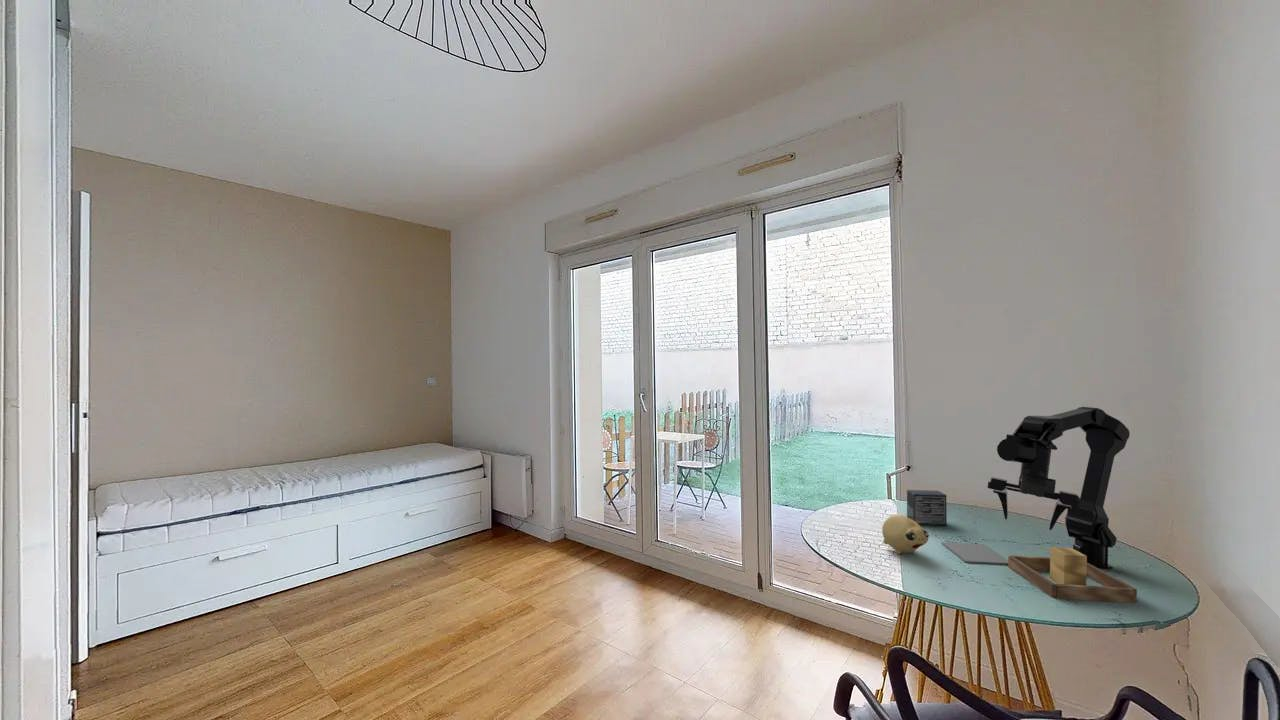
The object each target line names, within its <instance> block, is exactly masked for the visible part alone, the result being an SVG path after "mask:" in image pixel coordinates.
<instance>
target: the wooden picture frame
mask: <svg viewBox="0 0 1280 720" xmlns="http://www.w3.org/2000/svg"><path fill="white" fill-rule="evenodd" d="M1007 560H1008V565H1007V566H1008V568H1009V569H1010V570H1012V571H1013V572H1015V573H1016V574H1017V575H1019V576H1020V577H1022V578H1023V579H1025V580H1026V581H1028V582H1029V583H1030V584H1031V585H1033V586H1035V587H1036V588H1038V589H1039V590H1041V591H1042V592H1044V593H1045V594H1046V595H1048V596H1049V597H1051V598H1057V599H1061V600H1062V599H1063V600H1076V599H1077V601H1093V600H1095V602H1096V601H1098V602H1113V603H1114V602H1115V603H1129V604H1134V603H1137V601H1138V600H1137V597H1138V596H1137V595H1138V591H1137V590H1138V589H1137V588H1135V587H1134V586H1132V585H1131V584H1128V583H1126V582H1125V581H1122V580H1121V579H1119V578H1118V577H1115V576H1113V575H1111V574H1109V573H1108V572H1105V570H1102V569H1101V568H1097V567H1095V566H1093V565H1091V564H1089V563H1087V570H1086V577H1088V578H1090V579H1091V580H1093V581H1094V582H1096V583H1099V584H1100V585H1102V586H1100V585H1099V586H1098V585H1087V584H1086V585H1068V584H1058V583H1056V582H1054V581H1053V580H1052V581H1051V579H1048V578H1046V576H1044V575H1042V574H1041V573H1039V572H1038V571H1036V570H1041V571H1043V570H1044V571H1045V570H1046V571H1050V557H1049V556H1032V555H1012V554H1011V555H1008V557H1007ZM1078 599H1080V600H1078Z"/></svg>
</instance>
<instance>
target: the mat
mask: <svg viewBox="0 0 1280 720" xmlns="http://www.w3.org/2000/svg"><path fill="white" fill-rule="evenodd" d="M940 543H941V545H942V546H944V547H945V548H946V549H948V551H950V552H951V553H953V554H954V555H955V556H956V557H958V558H959V559H960V560H961V561H962V562H963V563H966V564H980V563H984V565H1000V564H1001V566H1002V565H1003V566H1008V558H1005V557H1004V556H1003V555H1001V554H1000V553H998V552H997V551H995V550H993V549H992V548H990V547H989V546H988V545H986V544H985V543H970V542H968V543H967V542H966V543H965V542H947V541H946V542H943V541H941V542H940Z"/></svg>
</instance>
